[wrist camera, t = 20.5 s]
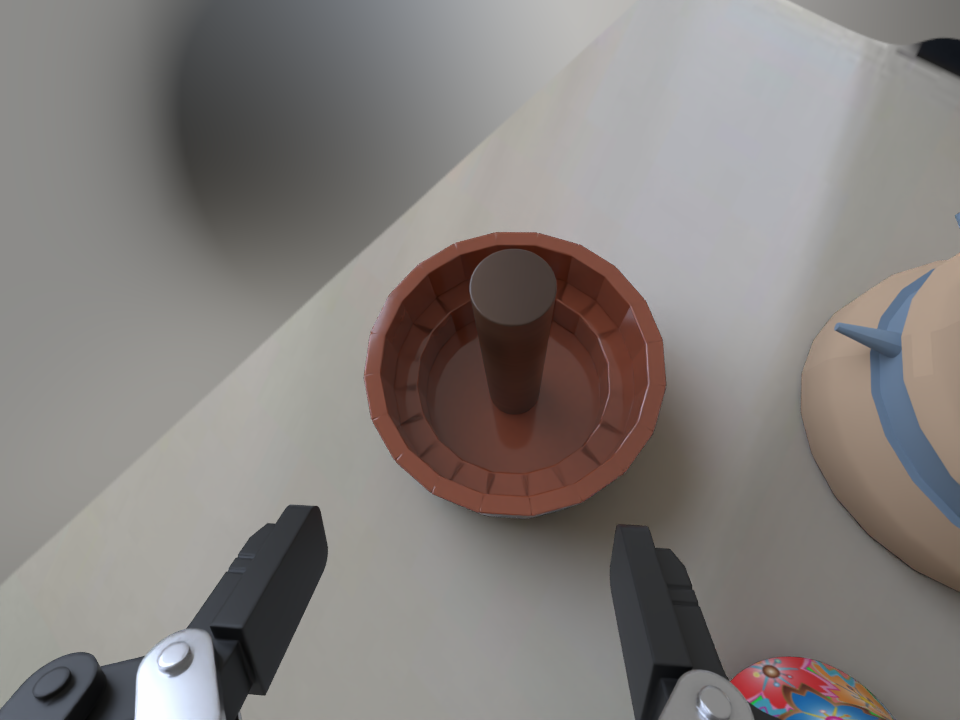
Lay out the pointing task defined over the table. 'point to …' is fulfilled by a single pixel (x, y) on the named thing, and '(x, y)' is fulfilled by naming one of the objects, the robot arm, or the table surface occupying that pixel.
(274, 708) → the table surface
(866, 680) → the table surface
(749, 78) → the table surface
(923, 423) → the alarm clock
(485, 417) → the bowl
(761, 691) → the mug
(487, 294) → the stick
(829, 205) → the table surface
